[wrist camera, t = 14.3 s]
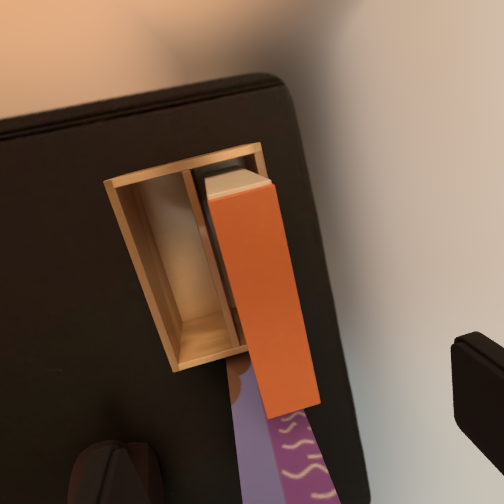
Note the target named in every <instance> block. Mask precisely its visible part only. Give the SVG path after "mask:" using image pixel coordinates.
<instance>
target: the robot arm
mask: <svg viewBox="0 0 504 504" xmlns="http://www.w3.org/2000/svg"><path fill="white" fill-rule="evenodd" d="M451 364H452V385H453V405H454V418H455V421H456V423H457V425H458V427H459V428H460V429H461V431H462V432H463V433H465V435H466V436H467V437H468V438H469V439H470V440H471V441H472V442H473V443H474V444H475V445H476V446H477V448H478V449H479V450H480V451H481V452H482V453H483V454H484V455H485V456H486V457H487V458H488V459H489V460H490V461H491V462H492V464H493V465H494V466H495V467H496V468H497V469H498V470H499V471H500V472H501V473H502V474H503V475H504V348H503V347H502V346H500V345H499V344H497V343H496V342H494V341H492V340H491V339H489V338H488V337H486V336H485V335H483V334H482V333H480V332H472V333H468V334H465V335H462V336H459V337H456V338H455V340H454V344H452V346H451ZM73 504H151V502H150V500H149V498H148V496H147V493H146V491H145V489H144V487H143V485H142V483H141V481H140V478H139V476H138V474H137V472H136V470H135V468H134V466H133V464H132V461H131V459H130V457H129V455H128V453H127V451H126V449H125V448H120V449H119V447H118V446H117V445H116V444H113V445H110V446H107V447H104V448H100V449H97V450H94V451H92V452H91V454H90V456H89V459H88V461H87V464H86V467H85V470H84V473H83V476H82V479H81V482H80V485H79V488H78V491H77V494H76V497H75V500H74V503H73Z"/></svg>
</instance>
